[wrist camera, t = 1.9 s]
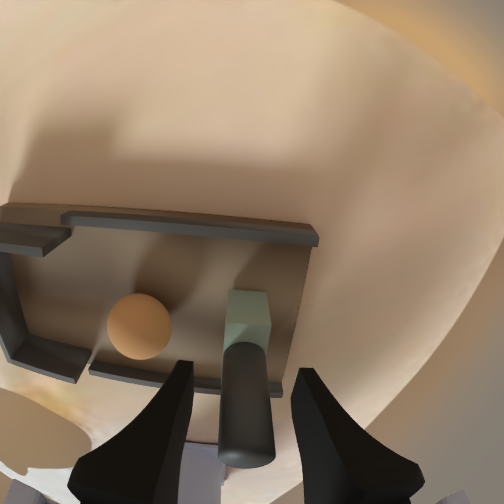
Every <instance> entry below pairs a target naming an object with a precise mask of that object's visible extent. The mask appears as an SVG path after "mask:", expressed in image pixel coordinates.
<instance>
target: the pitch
mask: <svg viewBox="0 0 504 504" xmlns="http://www.w3.org/2000/svg"><path fill="white" fill-rule="evenodd" d="M318 242H319V236H318V234H317V233H316V232H315V230H314V229H313V227H312V226H311V225H310V224H301V223H292V222H283V221H273V220H263V219H253V218H243V217H232V216H221V215H210V214H198V213H186V212H173V211H160V210H145V209H130V208H114V207H97V206H77V205H54V204H26V203H6V204H4V205H2V206H0V345H1V347H2V350H3V352H4V354H5V357H6V359H7V361H8V362H9V363H11V364H14V365H17V366H19V367H22V368H25V369H28V370H31V371H33V372H36V373H39V374H43V375H46V376H49V377H52V378H55V379H59V380H62V381H66V382H69V383H73V384H76V383H77V381H78V379H79V377H80V375H81V373H82V372H83V370H84V368H85V366H86V364H91V365H90V367H89V369H88V370H89V374H90V375H94V376H99V377H103V378H108V379H113V380H117V381H123V382H128V383H133V384H139V385H145V386H151V387H157V388H161V387H162V385H163V384H164V382H165V381H166V379H167V378H168V376H169V375H170V373H171V371H172V370H173V368H174V366H175V364H176V362H177V361H178V360H187V361H194V392H196V393H205V394H216V395H221V377H222V361H223V346H224V334H225V321H226V309H227V297H228V289H234V290H246V291H259V292H267V298H268V305H269V312H270V318H271V325H272V326H271V331H270V337H269V342H268V348H267V353H266V365H267V375H268V384H269V394H270V397H272V398H282V396H283V388H282V379H283V375H284V371H285V367H286V363H287V359H288V355H289V350H290V346H291V342H292V338H293V333H294V329H295V325H296V320H297V316H298V311H299V307H300V302H301V297H302V293H303V288H304V283H305V278H306V273H307V268H308V263H309V258H310V253H311V248H312V247H318ZM137 293H139V294H146V295H149V296H152V297H154V298H155V299H157V300H158V301H159V302H161V303H162V304H163V305H164V307H165V308H166V310H167V311H168V313H169V316H170V319H171V323H172V333H171V338H170V340H169V343H168V344H167V346H166V348H165V349H164V350H163V351H162V352H161V353H160V354H158V355H156V356H155V357H152V358H149V359H145V360H137V359H132V358H129V357H127V356H125V355H123V354H122V353H120V352H119V351H118V350H117V349H116V348H115V347H114V345H113V344H112V342H111V340H110V338H109V335H108V331H107V319H108V315H109V312H110V310H111V308H112V307H113V306H114V304H115V303H116V302H117V301H118V300H120V299H121V298H123V297H125V296H127V295H130V294H137Z"/></svg>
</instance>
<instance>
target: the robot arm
mask: <svg viewBox="0 0 504 504" xmlns="http://www.w3.org/2000/svg"><path fill="white" fill-rule="evenodd" d="M193 396H194V361H187V360H178V361H177V362H176V364H175V366H174V368H173V370H172V371H171V373H170V375H169V376H168V378H167V379H166V381H165V382H164V384H163V385H162V387H161V388H160V390H159V391H158V392H157V394H156V395H155V396H154V397H153V399H152V400H151V401H150V402H149V403H148V405H147V406H146V407H145V408H144V409H143V410H142V411H141V413H140V414H139V415H138V416H137V417H136V418H135V419H134V420H133V421H132V422H130V423H129V424H128V425H127V426H126V427H125V428H124V429H123V430H121V431H120V432H119V433H118V434H116V435H115V436H114V437H112V438H111V439H110V440H108V441H107V442H105V443H104V444H102V445H101V446H99V447H98V448H96V449H94V450H93V451H91V452H89V453H87V454H86V455H84V456H82V457H80V458H79V459H78V461H77V462H76V464H75V466H74V468H73V470H72V472H71V475H70V478H69V481H68V484H67V487H68V489H69V490H70V492H71V493H72V494H73V495H74V496H75V497H76V498H77V499H78V500H79V501H80V502H81V503H80V504H221V486H223V485H224V478H225V469H226V465H225V464H224V463H222V462H221V461H220V460H219V459H218V445H209V444H198V443H189V442H185V440H186V436H187V431H188V427H189V422H190V418H191V413H192V406H193ZM291 410H292V419H293V424H294V429H295V434H296V438H297V443H298V448H299V452H300V457H301V463H302V472H303V484H304V503H305V504H411V502H410V499H409V498H410V497H411V496H412V495H414V494H415V493H416V492H417V491H418V490H419V489H420V488H421V487H422V486H423V485H424V483H425V480H424V477H423V474H422V472H421V469H420V467H419V466H418V464H416V463H414V462H412V461H410V460H408V459H406V458H404V457H402V456H400V455H398V454H397V453H395V452H393V451H392V450H390V449H389V448H387V447H386V446H384V445H383V444H381V443H380V442H379V441H377V440H376V439H375V438H373V437H372V436H371V435H369V434H368V433H367V432H366V431H365V430H364V429H363V428H361V427H360V426H359V425H358V424H357V423H356V422H355V421H354V420H353V419H352V418H351V417H350V415H349V414H348V413H347V412H346V411H345V410H344V409H343V408H342V406H341V405H340V404H339V403H338V401H337V400H336V399H335V398H334V396H333V395H332V394H331V392H330V391H329V390H328V388H327V387H326V385H325V384H324V383H323V381H322V380H321V378H320V377H319V375H318V374H317V372H316V371H315V370H314V368H299V371H298V375H297V378H296V382H295V385H294V388H293V392H292V395H291ZM4 504H58V503H56V502H54V501H51V500H49V499H47V498H46V497H45V496H44V495H43V494H42V493H41V492H39V491H38V490H36V489H34V488H32V487H30V486H28V485H26V484H24V483H22V482H20V481H18V480H16V479H13V481H12V483H11V486H10V488H9V490H8V493H7V496H6V498H5V501H4ZM436 504H470V502H469V500H468V498H467V496H466V493H465V491H464V490H461V491H458V492H456V493H454V494H452V495H449V496H447V497H445V498H443V499H441V500H440V501H439V502H437V503H436Z"/></svg>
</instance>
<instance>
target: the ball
mask: <svg viewBox="0 0 504 504" xmlns="http://www.w3.org/2000/svg"><path fill="white" fill-rule="evenodd" d="M107 331H108V335H109V338H110V340H111V342H112V344H113V345H114V347H115V348H116V349H117V350H118V351H119V352H120V353H122V354H123V355H125V356H127V357H129V358H132V359H137V360H145V359H149V358H152V357H155V356H156V355H158V354H160V353H161V352H162V351H163V350H164V349H165V348H166V346H167V344H168V343H169V340H170V338H171V333H172V323H171V319H170V316H169V313H168V311H167V310H166V308H165V307H164V305H163V304H162V303H161V302H159V301H158V300H157V299H155V298H154V297H152V296H149V295H146V294H139V293H137V294H130V295H127V296H125V297H123V298H121V299H120V300H118V301H117V302H116V303H115V304H114V306H113V307H112V308H111V310H110V312H109V315H108V319H107Z"/></svg>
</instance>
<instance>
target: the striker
mask: <svg viewBox="0 0 504 504" xmlns="http://www.w3.org/2000/svg"><path fill="white" fill-rule="evenodd" d="M271 326H272V325H271V318H270V312H269V305H268V298H267V292H259V291H246V290H234V289H228V297H227V309H226V321H225V334H224V346H223V361H222V377H221V399H220V417H219V437H218V459H219V460H220V461H221V462H222V463H224V464H225V465H228V466H231V467H235V468H243V469H249V468H257V467H262V466H265V465H267V464H269V463H271V462H272V461H273V460H274V459H275V457H276V452H275V442H274V433H273V423H272V413H271V404H270V394H269V384H268V375H267V365H266V353H267V348H268V342H269V337H270V331H271Z"/></svg>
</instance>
